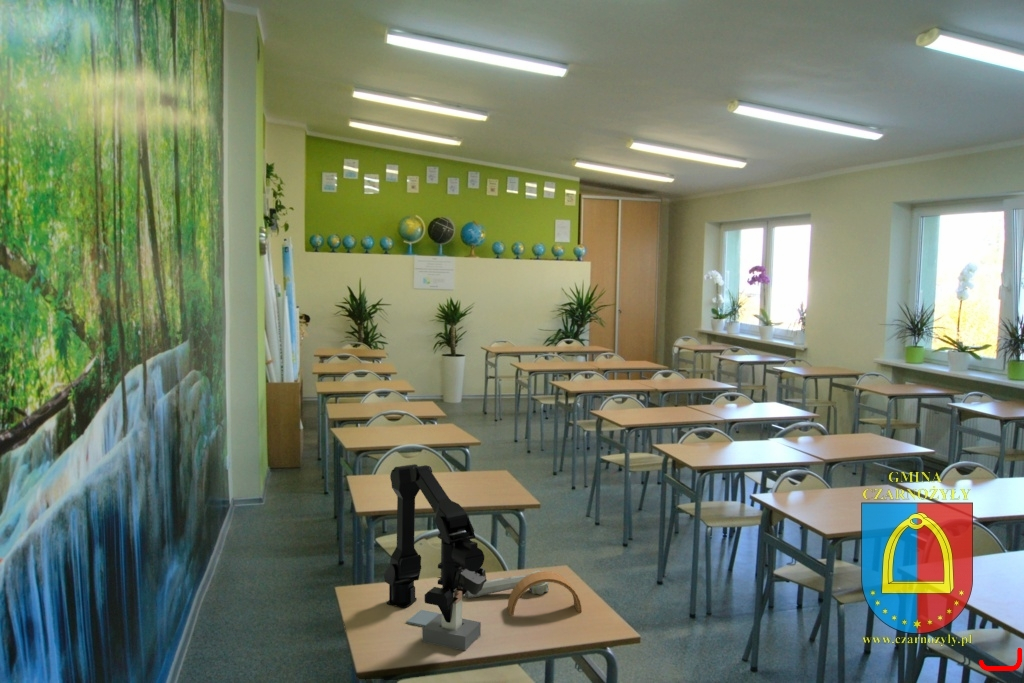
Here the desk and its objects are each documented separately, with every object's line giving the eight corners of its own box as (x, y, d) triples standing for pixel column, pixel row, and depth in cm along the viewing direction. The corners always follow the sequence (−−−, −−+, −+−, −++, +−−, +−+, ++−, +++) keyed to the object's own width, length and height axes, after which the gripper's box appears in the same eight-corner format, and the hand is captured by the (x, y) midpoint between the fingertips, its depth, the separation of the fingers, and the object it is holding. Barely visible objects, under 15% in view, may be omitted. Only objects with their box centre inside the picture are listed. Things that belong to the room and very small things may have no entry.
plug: (441, 639, 189) (441, 593, 188) (447, 634, 192) (448, 588, 192) (455, 642, 188) (456, 596, 187) (461, 637, 191) (462, 591, 190)
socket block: (422, 641, 188) (422, 627, 188) (439, 626, 196) (439, 613, 196) (465, 650, 184) (465, 636, 183) (480, 635, 192) (480, 622, 192)
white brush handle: (462, 581, 218) (544, 564, 223) (465, 602, 219) (547, 585, 224) (465, 588, 213) (549, 570, 218) (468, 610, 214) (551, 592, 219)
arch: (507, 607, 210) (508, 572, 209) (577, 604, 212) (578, 570, 212) (510, 616, 204) (510, 580, 204) (581, 613, 207) (582, 577, 206)
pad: (406, 623, 198) (406, 621, 198) (421, 611, 206) (421, 609, 206) (433, 628, 195) (433, 626, 195) (447, 616, 203) (447, 614, 203)
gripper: (464, 576, 177) (464, 640, 178) (496, 552, 194) (495, 610, 195) (423, 569, 181) (423, 632, 182) (457, 546, 198) (457, 603, 199)
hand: (451, 619), depth 190 cm, fingers closed on plug, 3 cm apart
